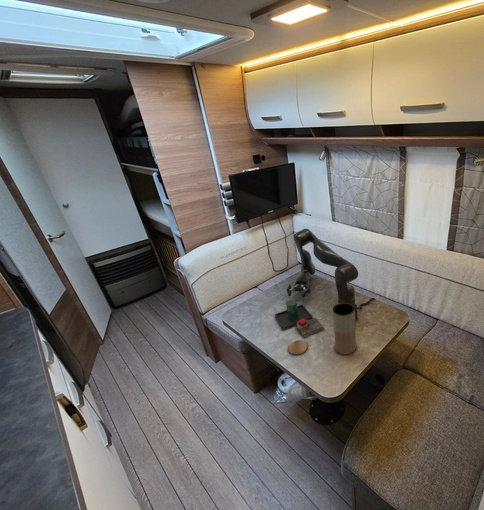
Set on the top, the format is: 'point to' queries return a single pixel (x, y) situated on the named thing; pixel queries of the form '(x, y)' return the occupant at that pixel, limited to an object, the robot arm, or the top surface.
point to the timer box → (310, 327)
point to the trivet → (298, 347)
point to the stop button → (302, 321)
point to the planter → (344, 327)
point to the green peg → (292, 309)
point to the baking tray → (287, 323)
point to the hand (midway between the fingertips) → (296, 295)
